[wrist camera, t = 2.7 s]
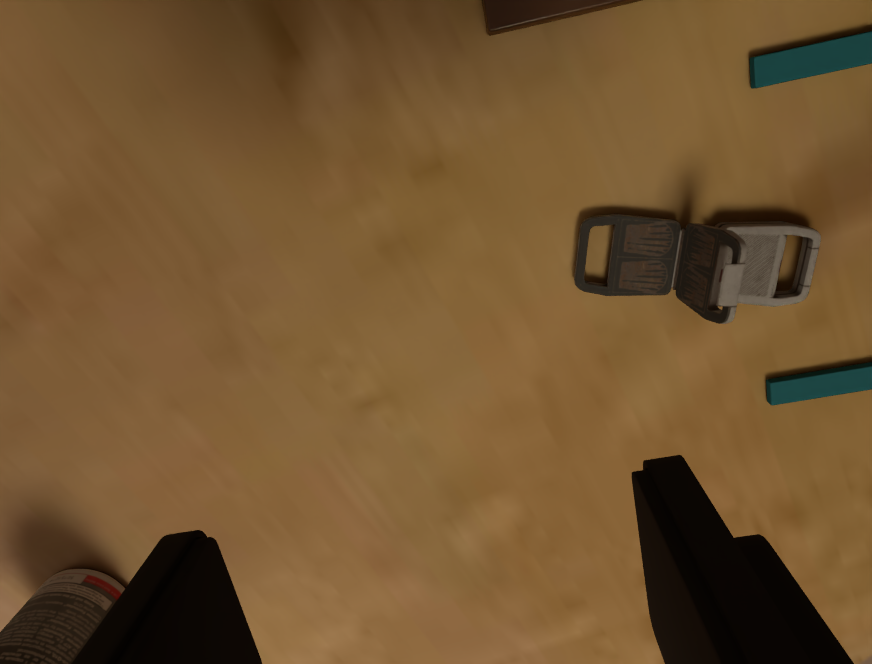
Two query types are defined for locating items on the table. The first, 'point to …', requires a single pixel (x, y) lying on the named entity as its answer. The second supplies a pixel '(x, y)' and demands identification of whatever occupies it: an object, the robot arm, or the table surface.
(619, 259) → the strap clip
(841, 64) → the bay
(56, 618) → the pill bottle
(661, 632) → the robot arm
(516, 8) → the peg rack
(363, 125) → the table surface
